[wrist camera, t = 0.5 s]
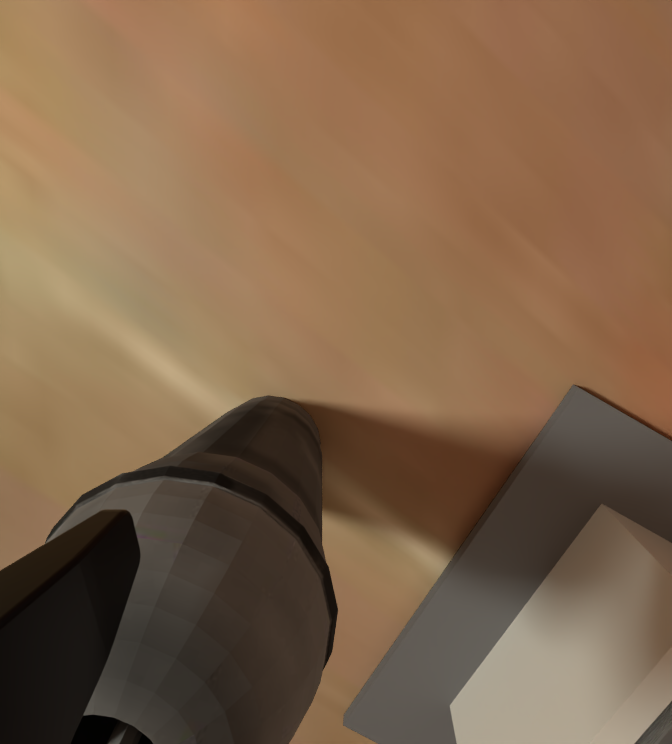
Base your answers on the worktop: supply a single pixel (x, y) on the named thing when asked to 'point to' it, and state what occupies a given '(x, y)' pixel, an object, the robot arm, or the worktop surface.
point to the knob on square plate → (659, 729)
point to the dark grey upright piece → (219, 586)
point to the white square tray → (581, 647)
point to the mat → (514, 562)
